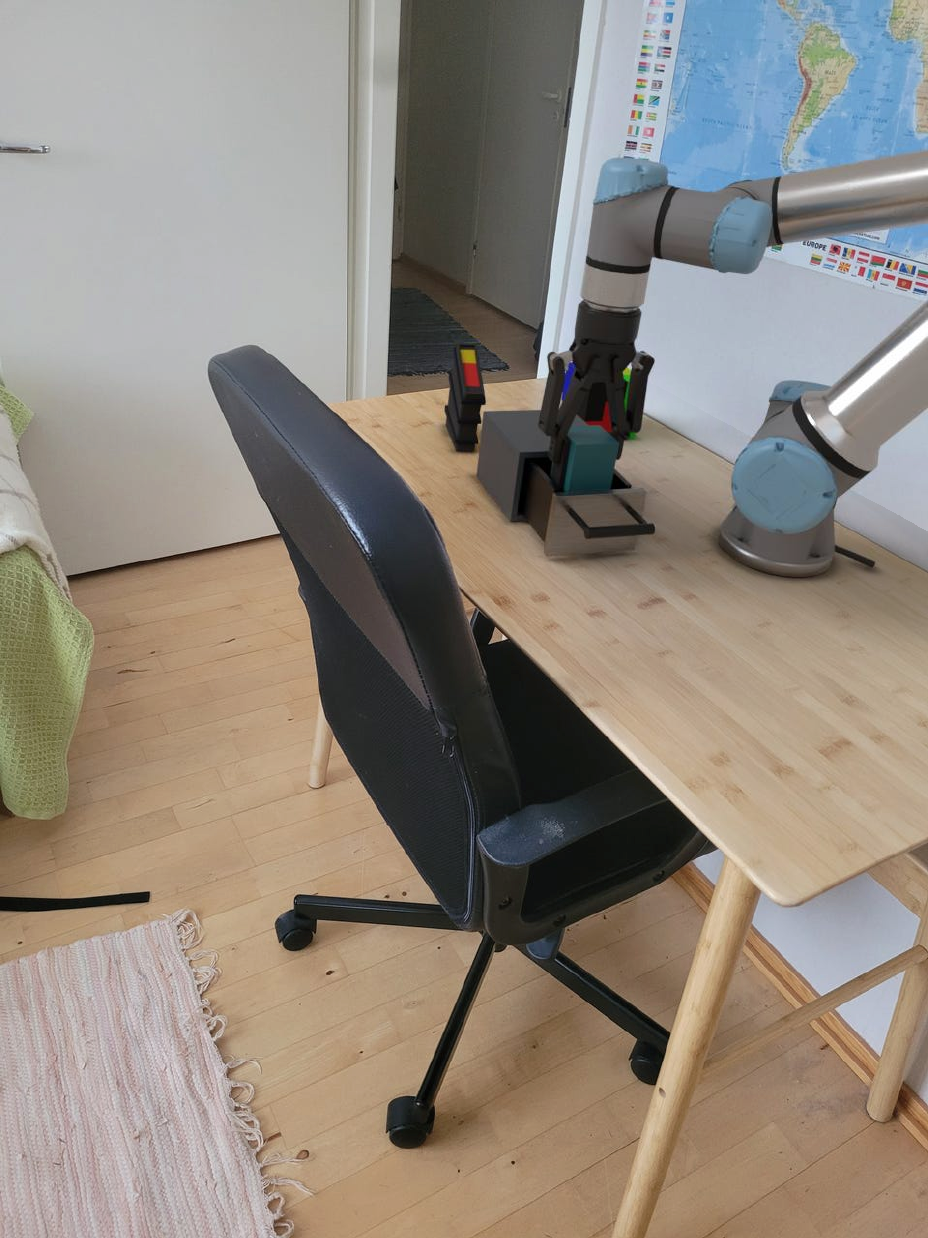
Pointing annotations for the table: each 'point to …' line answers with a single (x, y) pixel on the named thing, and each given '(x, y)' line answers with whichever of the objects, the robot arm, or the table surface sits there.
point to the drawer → (581, 513)
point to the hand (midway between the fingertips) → (580, 482)
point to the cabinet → (510, 454)
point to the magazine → (465, 398)
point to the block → (590, 459)
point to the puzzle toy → (596, 401)
